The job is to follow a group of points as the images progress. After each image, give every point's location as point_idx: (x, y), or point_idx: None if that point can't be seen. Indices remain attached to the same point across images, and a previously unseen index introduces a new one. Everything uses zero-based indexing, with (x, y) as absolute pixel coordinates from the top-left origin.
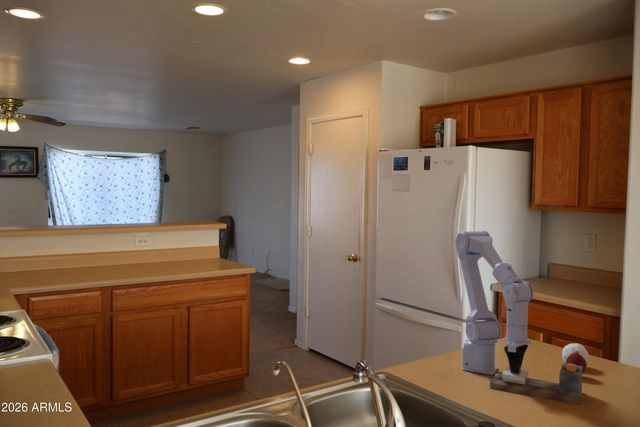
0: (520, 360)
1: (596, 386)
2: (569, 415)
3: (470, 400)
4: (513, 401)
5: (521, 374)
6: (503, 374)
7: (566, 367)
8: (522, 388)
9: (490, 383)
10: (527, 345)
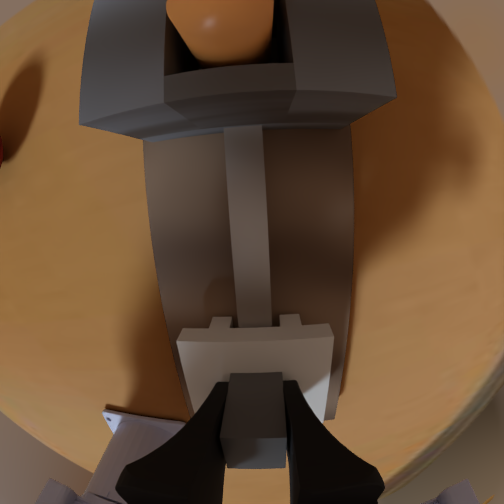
0: (330, 434)
1: (57, 59)
2: (462, 98)
3: (452, 395)
4: (435, 305)
5: (283, 361)
6: (322, 417)
7: (250, 39)
8: (347, 311)
9: (333, 416)
10: (142, 492)
